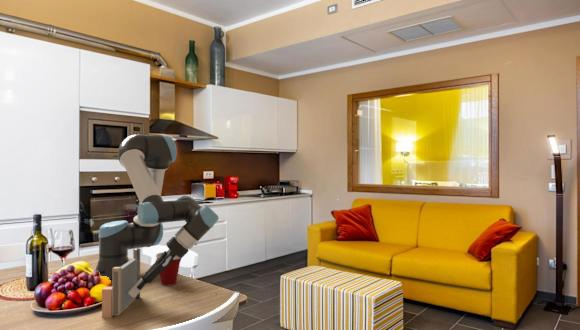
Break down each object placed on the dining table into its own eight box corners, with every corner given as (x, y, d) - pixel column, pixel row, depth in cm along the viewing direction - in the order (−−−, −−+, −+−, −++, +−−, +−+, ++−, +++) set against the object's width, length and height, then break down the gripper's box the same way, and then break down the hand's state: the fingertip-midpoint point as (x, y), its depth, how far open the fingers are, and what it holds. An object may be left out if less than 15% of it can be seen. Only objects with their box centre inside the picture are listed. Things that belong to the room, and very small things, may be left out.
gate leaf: (131, 297, 145) (131, 255, 145) (137, 297, 145) (137, 255, 145) (112, 314, 128) (112, 268, 128) (119, 314, 128) (119, 268, 128)
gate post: (132, 297, 148) (132, 248, 148) (139, 296, 149) (139, 248, 149) (133, 299, 146) (133, 250, 146) (140, 298, 147) (140, 249, 147)
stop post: (105, 313, 132) (106, 286, 132) (115, 313, 132) (115, 286, 132) (101, 317, 129) (102, 289, 129) (111, 317, 129) (111, 289, 129)
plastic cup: (175, 288, 159) (175, 258, 159) (150, 286, 161) (150, 256, 161) (187, 280, 170) (187, 252, 170) (164, 278, 172) (164, 250, 172)
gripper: (190, 254, 135) (137, 308, 130) (188, 246, 148) (140, 295, 143) (174, 239, 133) (120, 294, 129) (173, 232, 146) (124, 282, 141)
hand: (131, 294), depth 136 cm, fingers closed
